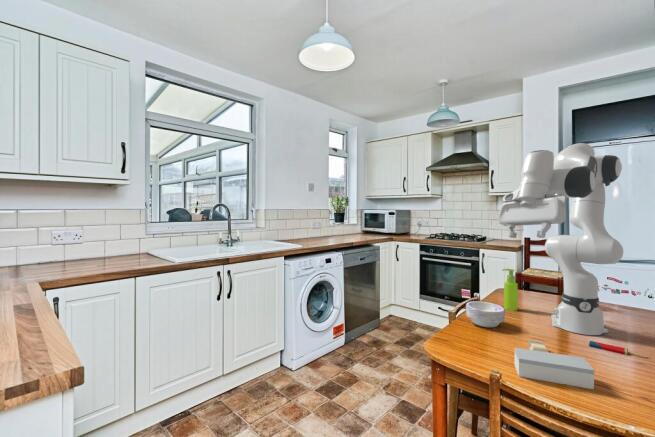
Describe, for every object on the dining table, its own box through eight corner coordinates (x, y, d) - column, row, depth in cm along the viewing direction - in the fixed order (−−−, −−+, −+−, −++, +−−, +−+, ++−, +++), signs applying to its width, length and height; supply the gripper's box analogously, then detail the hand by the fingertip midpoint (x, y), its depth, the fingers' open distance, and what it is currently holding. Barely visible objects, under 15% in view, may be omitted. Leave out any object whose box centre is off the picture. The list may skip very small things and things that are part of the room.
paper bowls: (513, 327, 133) (513, 309, 133) (484, 332, 129) (484, 312, 128) (485, 316, 148) (485, 299, 148) (458, 319, 143) (458, 302, 143)
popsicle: (647, 357, 105) (588, 344, 115) (647, 361, 105) (588, 348, 115) (646, 352, 108) (589, 340, 118) (646, 356, 108) (589, 344, 118)
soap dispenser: (502, 306, 164) (502, 267, 163) (517, 308, 159) (518, 269, 159) (500, 308, 159) (501, 269, 158) (516, 311, 155) (517, 270, 154)
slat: (528, 347, 115) (529, 339, 115) (541, 349, 113) (542, 341, 113) (539, 368, 100) (539, 358, 100) (554, 370, 99) (554, 361, 98)
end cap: (514, 364, 102) (514, 347, 102) (583, 375, 95) (583, 357, 95) (518, 376, 94) (519, 358, 94) (593, 389, 87) (594, 370, 87)
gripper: (573, 195, 94) (567, 240, 92) (511, 203, 113) (504, 240, 111) (560, 188, 92) (553, 233, 89) (498, 197, 111) (491, 235, 108)
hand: (525, 237), depth 100 cm, fingers open, 8 cm apart
